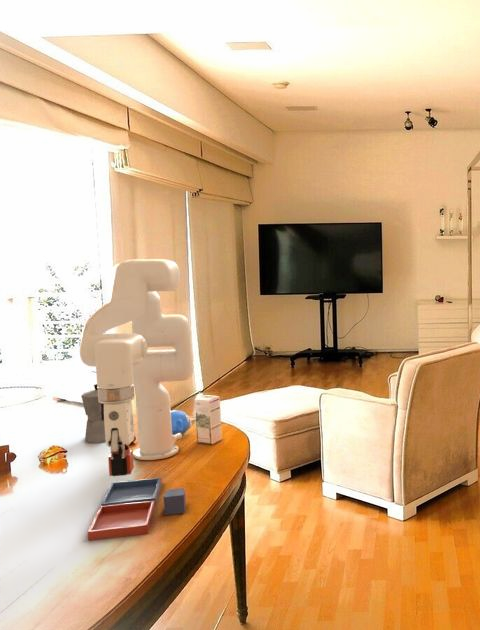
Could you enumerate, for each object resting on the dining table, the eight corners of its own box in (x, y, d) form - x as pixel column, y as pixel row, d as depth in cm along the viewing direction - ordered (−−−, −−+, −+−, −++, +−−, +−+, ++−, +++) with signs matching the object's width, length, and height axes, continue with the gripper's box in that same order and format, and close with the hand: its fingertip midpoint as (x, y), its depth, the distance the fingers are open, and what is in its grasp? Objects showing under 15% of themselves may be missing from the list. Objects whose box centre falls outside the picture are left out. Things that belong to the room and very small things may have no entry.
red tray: (100, 514, 161) (100, 506, 161) (155, 508, 164) (154, 500, 164) (88, 540, 148) (87, 531, 147) (147, 533, 151) (147, 524, 150)
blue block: (166, 507, 165) (165, 490, 164) (186, 505, 166) (185, 488, 165) (164, 515, 160) (163, 497, 160) (184, 513, 161) (183, 495, 161)
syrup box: (222, 439, 217) (220, 395, 215) (211, 445, 211) (209, 399, 209) (207, 437, 219) (205, 394, 217) (196, 443, 213) (193, 398, 211)
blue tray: (112, 489, 176) (111, 482, 176) (161, 484, 179) (161, 477, 179) (101, 511, 162) (101, 503, 162) (155, 505, 166) (155, 498, 165)
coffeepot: (80, 436, 221) (76, 382, 219) (111, 430, 227) (107, 378, 225) (90, 448, 209) (86, 391, 207) (122, 442, 215) (119, 387, 212)
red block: (112, 469, 156) (111, 450, 156) (133, 467, 157) (132, 448, 157) (109, 476, 152) (108, 457, 151) (130, 474, 153) (129, 455, 153)
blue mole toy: (205, 436, 220) (203, 411, 219) (167, 442, 214) (165, 417, 213) (195, 427, 230) (194, 403, 229) (159, 433, 224) (157, 408, 223)
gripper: (128, 401, 145) (133, 482, 148) (139, 384, 161) (143, 457, 164) (90, 404, 143) (96, 486, 146) (105, 386, 159) (110, 460, 162)
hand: (121, 470), depth 155 cm, fingers closed on red block, 4 cm apart
